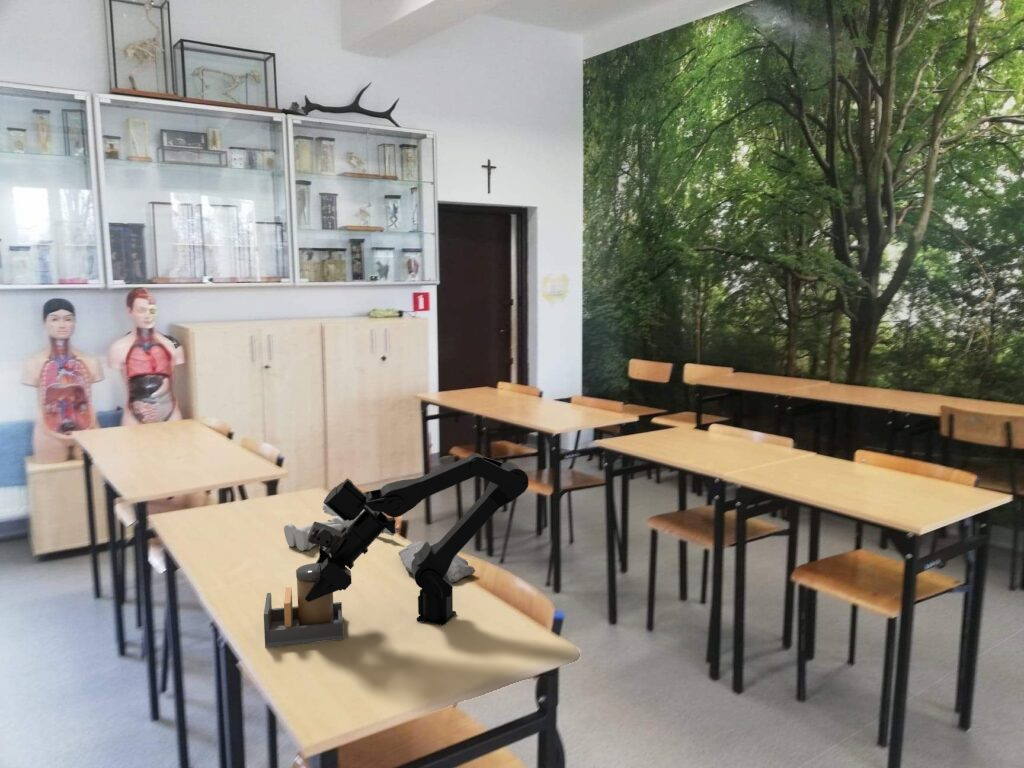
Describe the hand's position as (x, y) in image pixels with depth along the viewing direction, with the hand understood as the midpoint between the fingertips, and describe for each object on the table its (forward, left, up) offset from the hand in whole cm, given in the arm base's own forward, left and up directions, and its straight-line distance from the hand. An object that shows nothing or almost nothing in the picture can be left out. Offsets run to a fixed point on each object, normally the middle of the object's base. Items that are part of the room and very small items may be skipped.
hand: (306, 591), depth 159 cm
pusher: (+3, +2, -7) cm, 8 cm away
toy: (+27, -53, -9) cm, 60 cm away
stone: (-8, -41, -9) cm, 43 cm away
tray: (+1, 0, -9) cm, 9 cm away
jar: (-1, -1, -8) cm, 8 cm away
